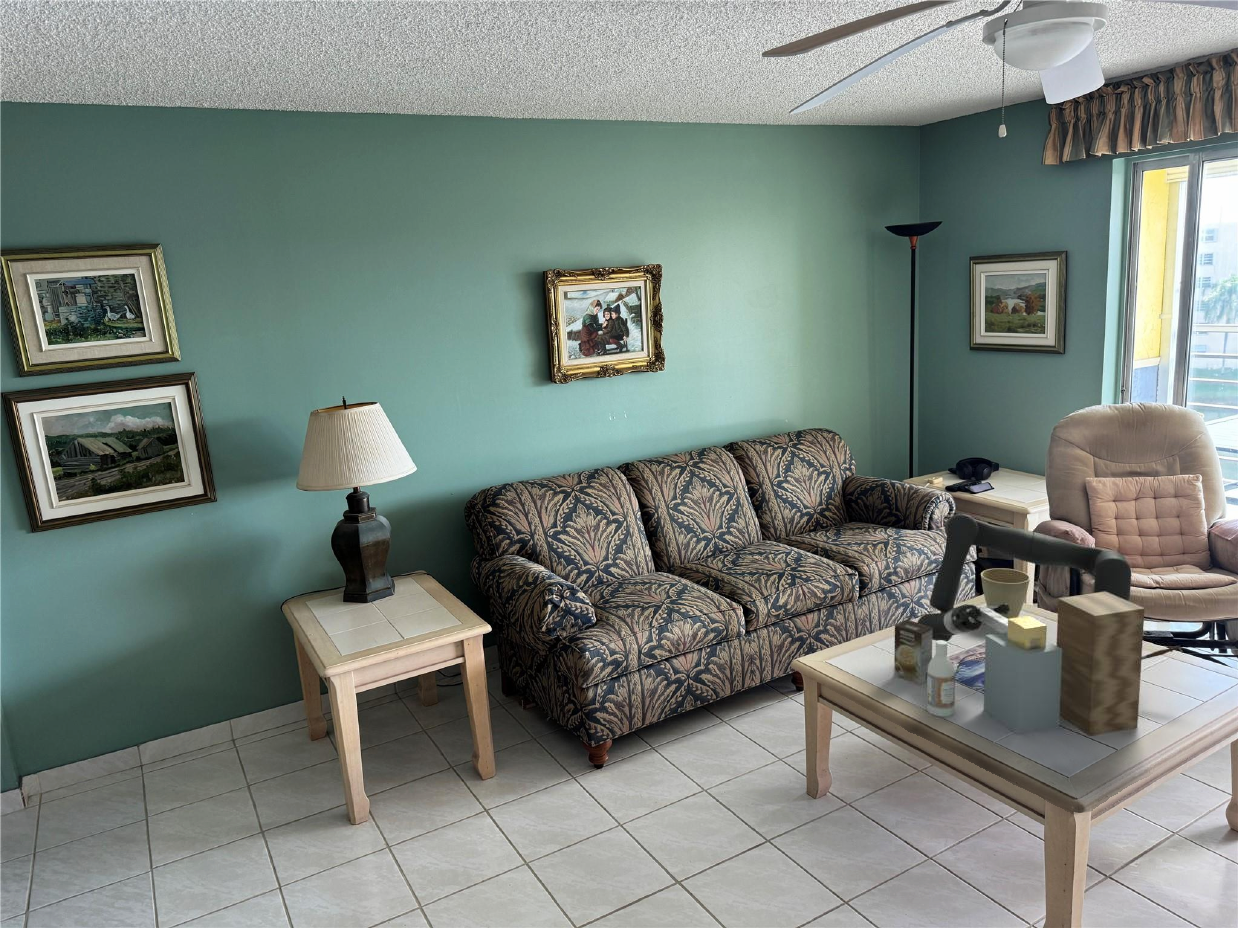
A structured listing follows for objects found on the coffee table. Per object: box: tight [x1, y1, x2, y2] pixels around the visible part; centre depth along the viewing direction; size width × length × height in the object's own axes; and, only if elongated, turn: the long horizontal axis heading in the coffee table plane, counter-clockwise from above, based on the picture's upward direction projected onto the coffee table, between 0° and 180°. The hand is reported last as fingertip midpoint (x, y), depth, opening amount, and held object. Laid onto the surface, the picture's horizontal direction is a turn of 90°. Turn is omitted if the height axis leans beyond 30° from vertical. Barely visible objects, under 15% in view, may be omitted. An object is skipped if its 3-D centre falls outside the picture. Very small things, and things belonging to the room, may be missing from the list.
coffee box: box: [893, 618, 933, 686], centre depth 256 cm, size 9×6×16 cm
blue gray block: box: [983, 632, 1062, 736], centre depth 229 cm, size 12×14×22 cm
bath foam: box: [926, 640, 956, 718], centre depth 235 cm, size 7×7×20 cm
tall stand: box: [1056, 591, 1145, 737], centre depth 225 cm, size 14×13×32 cm
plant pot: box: [980, 567, 1031, 619], centre depth 293 cm, size 15×15×16 cm
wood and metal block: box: [976, 606, 1047, 651], centre depth 232 cm, size 6×23×6 cm, turn 12°
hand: (993, 609), depth 237 cm, fingers open, 8 cm apart
